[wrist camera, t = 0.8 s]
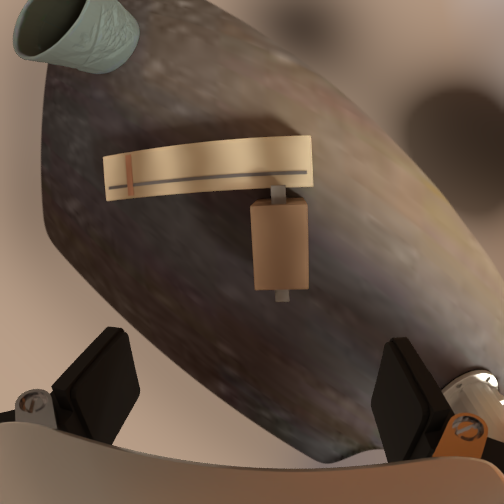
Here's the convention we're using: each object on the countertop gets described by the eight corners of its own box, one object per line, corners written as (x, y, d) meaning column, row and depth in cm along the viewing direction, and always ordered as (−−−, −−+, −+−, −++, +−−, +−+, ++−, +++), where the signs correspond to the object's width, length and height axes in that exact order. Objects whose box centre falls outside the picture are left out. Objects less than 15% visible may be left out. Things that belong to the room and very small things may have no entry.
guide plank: (307, 140, 30) (310, 135, 26) (309, 184, 31) (313, 186, 27) (121, 157, 32) (102, 156, 28) (124, 197, 33) (105, 201, 29)
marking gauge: (302, 182, 31) (306, 185, 24) (304, 278, 33) (308, 305, 27) (257, 184, 32) (249, 187, 25) (262, 279, 34) (255, 306, 27)
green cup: (161, 26, 28) (112, -22, 16) (108, 96, 31) (41, 75, 19) (109, 1, 27) (57, -38, 16) (62, 63, 30) (-1, 42, 18)
